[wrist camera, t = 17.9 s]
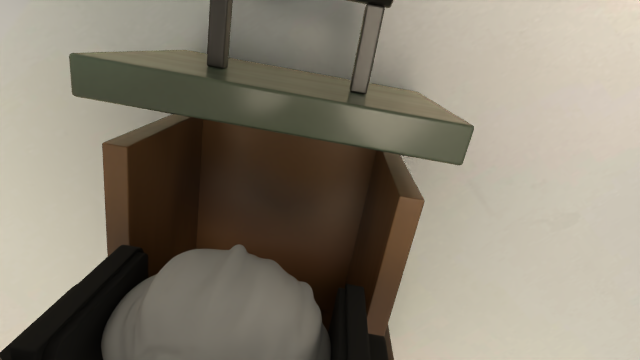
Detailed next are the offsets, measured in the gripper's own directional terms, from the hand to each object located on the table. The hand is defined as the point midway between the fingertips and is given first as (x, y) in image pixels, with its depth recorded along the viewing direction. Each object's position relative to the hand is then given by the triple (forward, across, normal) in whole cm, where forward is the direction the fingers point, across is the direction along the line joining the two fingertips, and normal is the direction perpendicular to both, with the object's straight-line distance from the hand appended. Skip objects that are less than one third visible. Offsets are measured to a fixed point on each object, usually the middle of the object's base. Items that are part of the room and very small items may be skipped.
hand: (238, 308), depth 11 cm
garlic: (+1, 0, 0) cm, 1 cm away
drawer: (+9, 0, -2) cm, 9 cm away
